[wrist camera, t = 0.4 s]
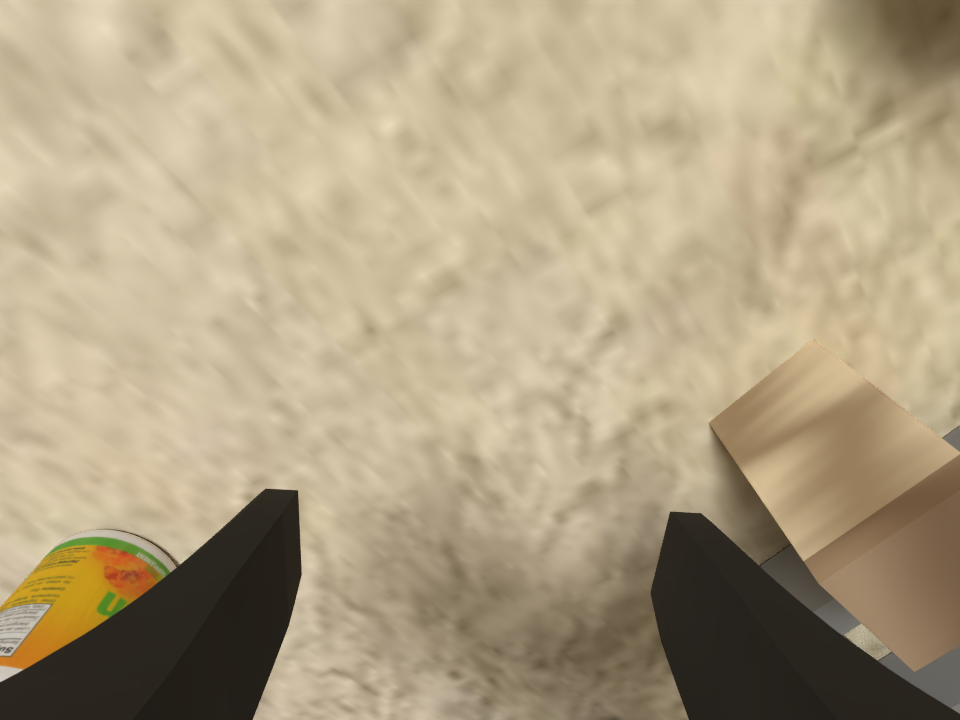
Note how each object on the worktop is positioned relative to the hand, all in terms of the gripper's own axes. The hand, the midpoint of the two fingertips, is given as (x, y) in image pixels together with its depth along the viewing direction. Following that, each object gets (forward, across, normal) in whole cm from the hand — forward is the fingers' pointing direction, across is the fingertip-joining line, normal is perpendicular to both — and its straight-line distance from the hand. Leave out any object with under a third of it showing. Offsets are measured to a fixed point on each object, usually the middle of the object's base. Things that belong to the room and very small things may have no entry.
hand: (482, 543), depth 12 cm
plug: (+10, -12, +2) cm, 16 cm away
